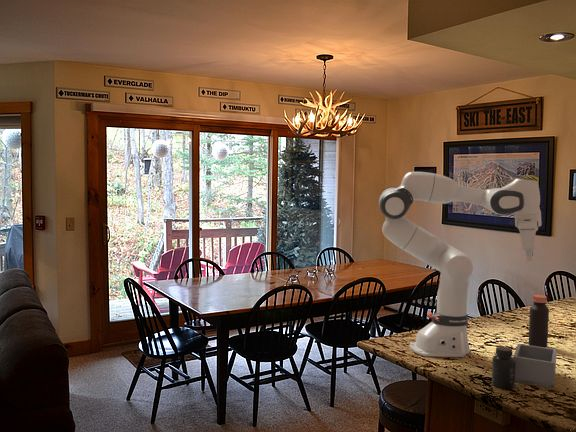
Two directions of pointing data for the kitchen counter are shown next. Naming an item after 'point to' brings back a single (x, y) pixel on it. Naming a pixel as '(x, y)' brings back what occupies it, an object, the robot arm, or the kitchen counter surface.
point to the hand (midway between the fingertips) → (530, 258)
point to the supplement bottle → (503, 368)
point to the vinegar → (538, 322)
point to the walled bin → (535, 365)
